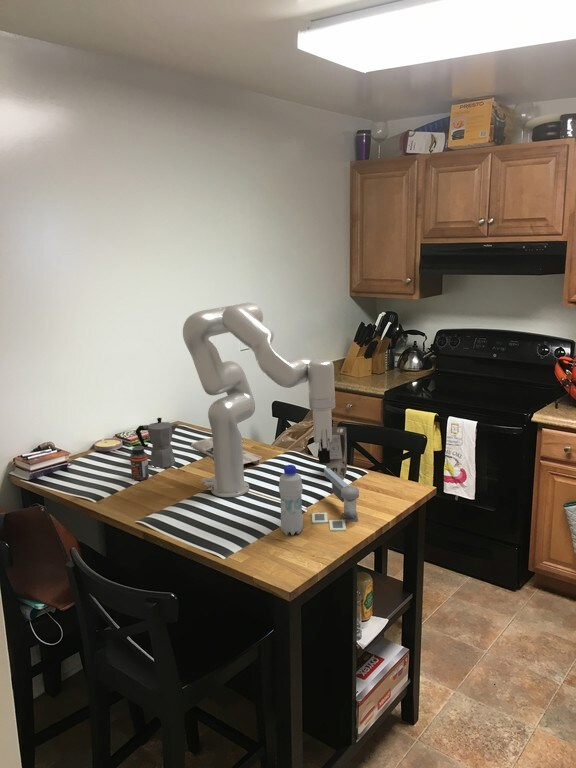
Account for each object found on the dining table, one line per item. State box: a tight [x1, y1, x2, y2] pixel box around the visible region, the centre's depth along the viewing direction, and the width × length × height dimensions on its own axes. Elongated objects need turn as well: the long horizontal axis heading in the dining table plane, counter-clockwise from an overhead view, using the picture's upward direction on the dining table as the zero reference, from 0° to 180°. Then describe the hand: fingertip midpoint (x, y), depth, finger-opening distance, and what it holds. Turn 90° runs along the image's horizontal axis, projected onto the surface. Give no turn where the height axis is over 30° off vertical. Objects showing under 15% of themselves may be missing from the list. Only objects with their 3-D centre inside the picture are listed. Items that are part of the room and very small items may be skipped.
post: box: [341, 499, 359, 522], centre depth 183 cm, size 4×4×7 cm
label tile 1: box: [311, 512, 329, 524], centre depth 184 cm, size 4×6×1 cm
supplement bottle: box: [129, 445, 150, 481], centre depth 217 cm, size 6×6×11 cm
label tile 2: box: [328, 519, 347, 532], centre depth 179 cm, size 4×6×1 cm
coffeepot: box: [135, 417, 179, 469], centre depth 229 cm, size 15×9×18 cm, turn 103°
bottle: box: [278, 464, 304, 536], centre depth 174 cm, size 7×7×20 cm
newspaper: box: [190, 437, 263, 468], centre depth 239 cm, size 35×12×4 cm, turn 37°
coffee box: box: [325, 426, 348, 481], centre depth 215 cm, size 9×6×16 cm
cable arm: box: [323, 468, 360, 503], centre depth 189 cm, size 21×5×6 cm, turn 19°
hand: (324, 462), depth 184 cm, fingers closed
